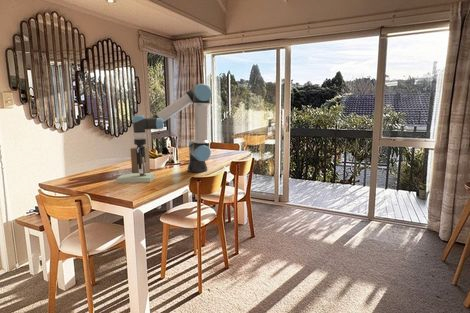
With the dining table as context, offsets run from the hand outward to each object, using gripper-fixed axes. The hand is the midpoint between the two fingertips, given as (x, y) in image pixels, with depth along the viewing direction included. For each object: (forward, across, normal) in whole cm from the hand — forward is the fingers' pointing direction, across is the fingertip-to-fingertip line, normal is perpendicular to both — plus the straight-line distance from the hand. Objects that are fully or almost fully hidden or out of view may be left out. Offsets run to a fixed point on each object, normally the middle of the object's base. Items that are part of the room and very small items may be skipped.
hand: (142, 172), depth 204 cm
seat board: (+5, 0, -4) cm, 6 cm away
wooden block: (+5, -18, -6) cm, 20 cm away
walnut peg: (+4, 0, 0) cm, 4 cm away
